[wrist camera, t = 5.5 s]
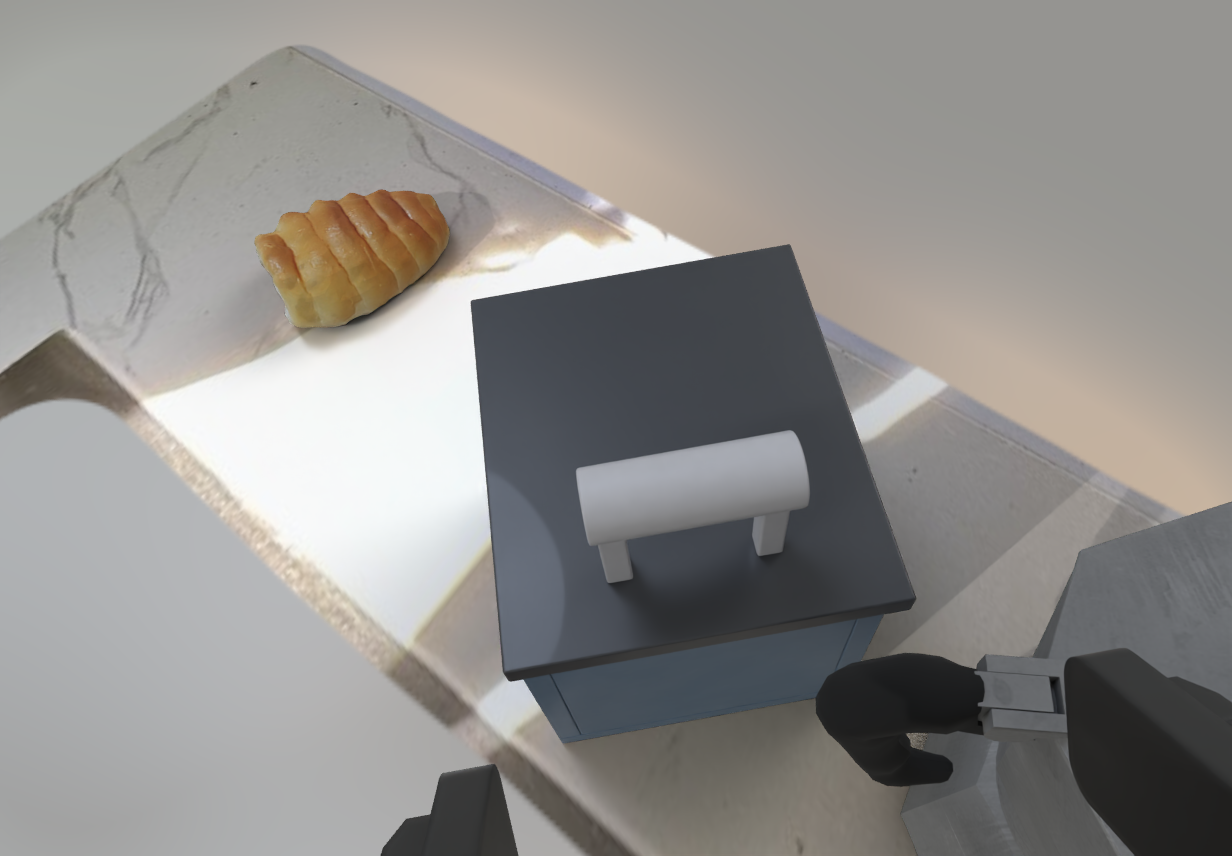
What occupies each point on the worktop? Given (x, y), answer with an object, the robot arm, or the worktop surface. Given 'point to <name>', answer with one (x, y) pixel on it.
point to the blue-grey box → (699, 680)
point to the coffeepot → (1036, 698)
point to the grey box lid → (672, 466)
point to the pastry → (351, 254)
